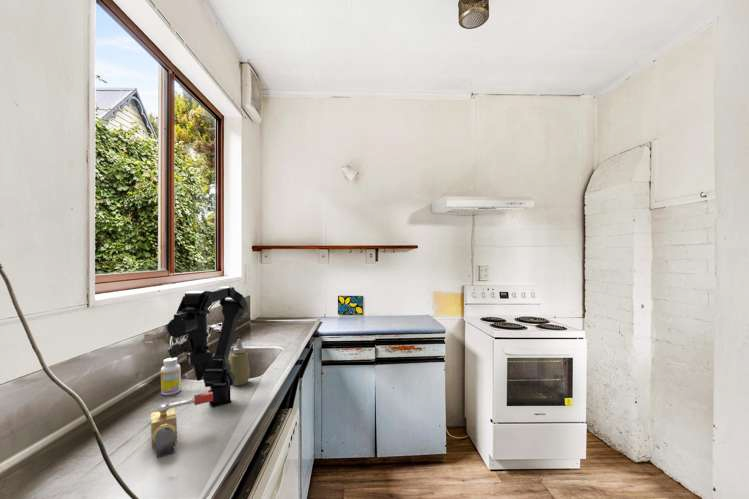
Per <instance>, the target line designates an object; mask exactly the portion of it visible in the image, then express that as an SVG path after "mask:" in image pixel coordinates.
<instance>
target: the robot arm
mask: <svg viewBox="0 0 749 499" xmlns="http://www.w3.org/2000/svg"><path fill="white" fill-rule="evenodd" d="M217 301H219V305H220V306H221V313H222V315H223V317H224V318H223V322H222V325H221V329H220V333H219V336H218V341H217V344H216V348H215V352H214V355H213V353H212V352H211V351H210V350H209V349H210V347H209V345H208V338H209V332H208V314H210V313H211V311H210V310H209V309H208V308H210V307H211V306H212V304H213V303H214V302H217ZM247 306H248V302H247V300H246V298H245V296H244V295H243V294H241V293H240V292H238V291H237V290H236V289H235V287H233V286H228V285H227V286H220V287H217V288H213V289H209V290H199V291H198V290H190V291H186V292H185V293H184V295H183V297H182V299H181V301H180V303H179V306H178V308H177V310H176V313H175V314H173V318H172V319H171V320H170V321H169V322H168V323H167V327H166V329H167V333H168V335H170V337H172V338H175V339H177V338H181V337H184V336H185V338H184V339H181V340H179V341H176V342H174V343H172V344H170V345H168V346H167V347H166V351H167V353H168V355H169V356H170V357H169V358H171V359H172V358H178V356H179V355H182V354H187V355H185V356H186V359H188V361H187V362H188V364H189V365H190V366H192V368H193V372H194V376H195V378H196V381H197V382H200V381H201V380H202V379H203V383H204V386H205V388H209V390H208V391H207V392H212V393H213V401H211V402H208V404H209V405H210V406H211V408H214V407H219V406H224V405H227V404H231V403H232V402H233V401H232V398H231V386H234V385H233V383H234V381H235V376H234V375H233V373H232V372H231V371H230V370H231V365H230V360H229V357H230V352H231V349H232V344H233V340H234V337H235V332H236V329H237V328H236V327H237V325H238V321H239V320H240V319H241V318H242V317H243V316H244V313H245V312H246V309H247Z"/></svg>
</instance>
